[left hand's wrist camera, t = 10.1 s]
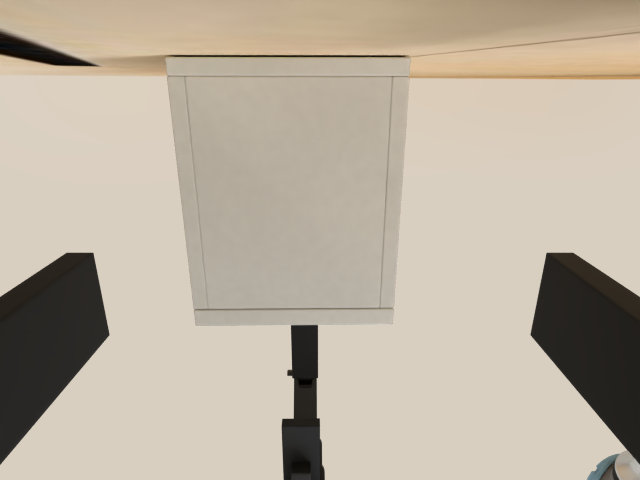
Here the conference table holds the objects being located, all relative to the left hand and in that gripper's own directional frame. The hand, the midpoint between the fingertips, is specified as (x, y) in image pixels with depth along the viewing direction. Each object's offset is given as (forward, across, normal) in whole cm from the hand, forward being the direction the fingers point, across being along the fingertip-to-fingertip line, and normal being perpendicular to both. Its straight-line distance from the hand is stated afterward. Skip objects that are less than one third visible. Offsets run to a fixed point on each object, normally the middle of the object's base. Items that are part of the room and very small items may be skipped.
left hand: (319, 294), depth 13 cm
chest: (+14, +1, -7) cm, 16 cm away
